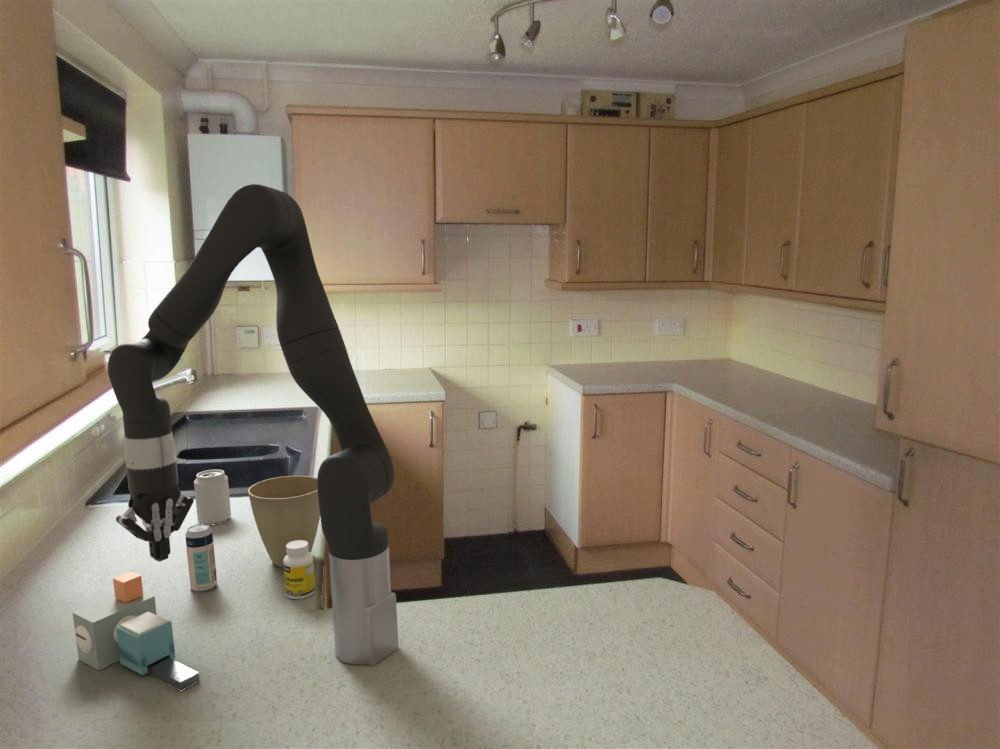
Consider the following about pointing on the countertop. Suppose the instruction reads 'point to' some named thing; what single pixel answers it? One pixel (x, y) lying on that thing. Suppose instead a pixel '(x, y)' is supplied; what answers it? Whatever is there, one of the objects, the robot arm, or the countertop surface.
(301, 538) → the plant pot
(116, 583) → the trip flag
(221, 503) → the can
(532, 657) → the countertop surface
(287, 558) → the supplement bottle
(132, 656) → the box
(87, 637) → the cabinet
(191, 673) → the rail
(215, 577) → the beer can
